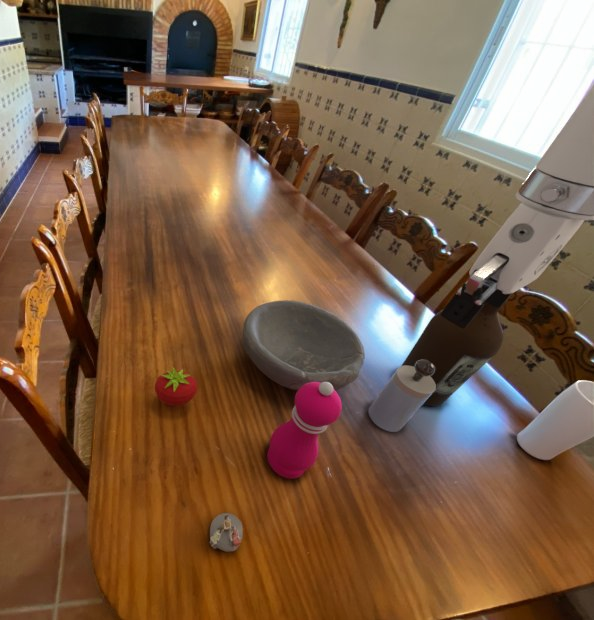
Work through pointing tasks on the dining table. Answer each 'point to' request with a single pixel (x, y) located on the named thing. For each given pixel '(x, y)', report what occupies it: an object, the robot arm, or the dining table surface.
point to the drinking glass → (561, 423)
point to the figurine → (226, 532)
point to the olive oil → (457, 350)
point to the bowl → (302, 345)
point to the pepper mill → (303, 429)
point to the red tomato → (175, 387)
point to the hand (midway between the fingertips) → (470, 311)
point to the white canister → (403, 395)
